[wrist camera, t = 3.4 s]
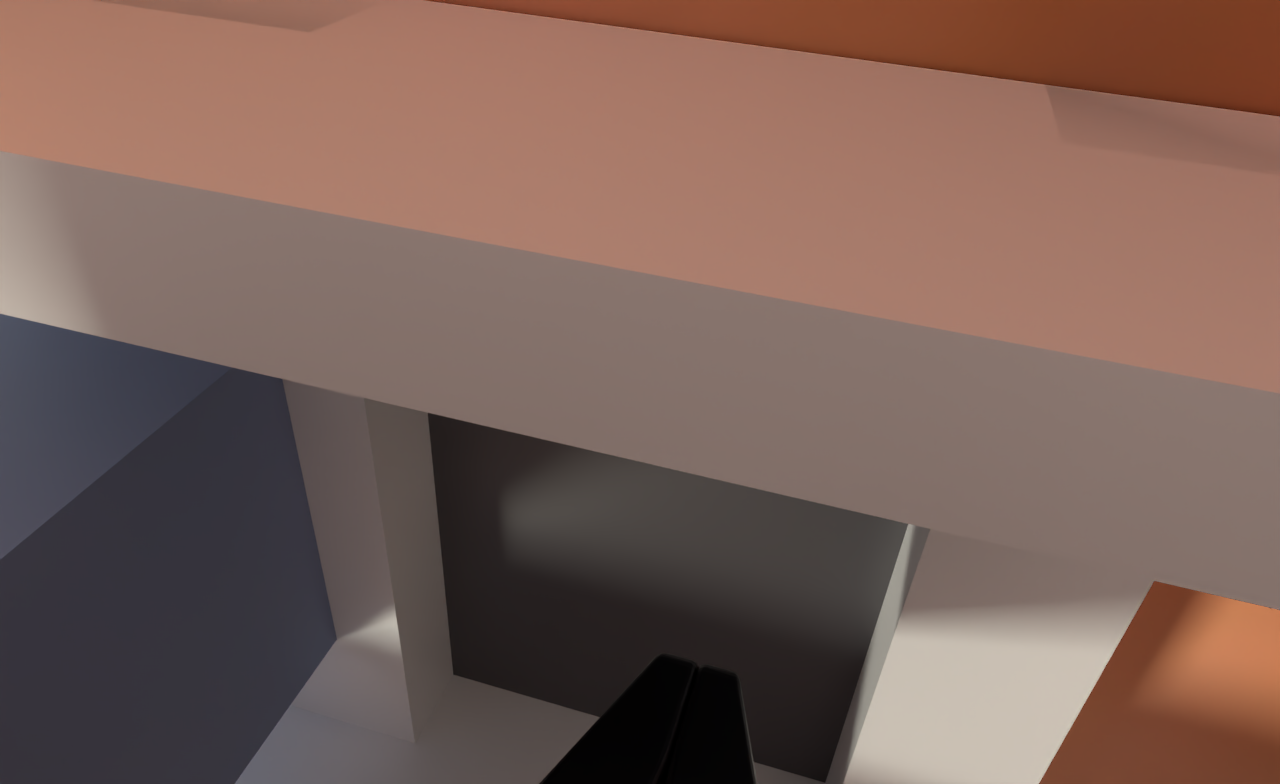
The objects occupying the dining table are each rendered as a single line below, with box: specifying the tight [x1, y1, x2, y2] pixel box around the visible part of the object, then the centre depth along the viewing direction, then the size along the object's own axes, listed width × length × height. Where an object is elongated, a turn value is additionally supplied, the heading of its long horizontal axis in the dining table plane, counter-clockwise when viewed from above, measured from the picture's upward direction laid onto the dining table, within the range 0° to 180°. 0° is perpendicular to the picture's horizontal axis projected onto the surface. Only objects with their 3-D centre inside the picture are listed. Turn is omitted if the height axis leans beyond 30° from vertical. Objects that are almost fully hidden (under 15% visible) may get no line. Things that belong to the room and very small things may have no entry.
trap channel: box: [0, 0, 1280, 784], centre depth 11 cm, size 24×11×4 cm, turn 87°
